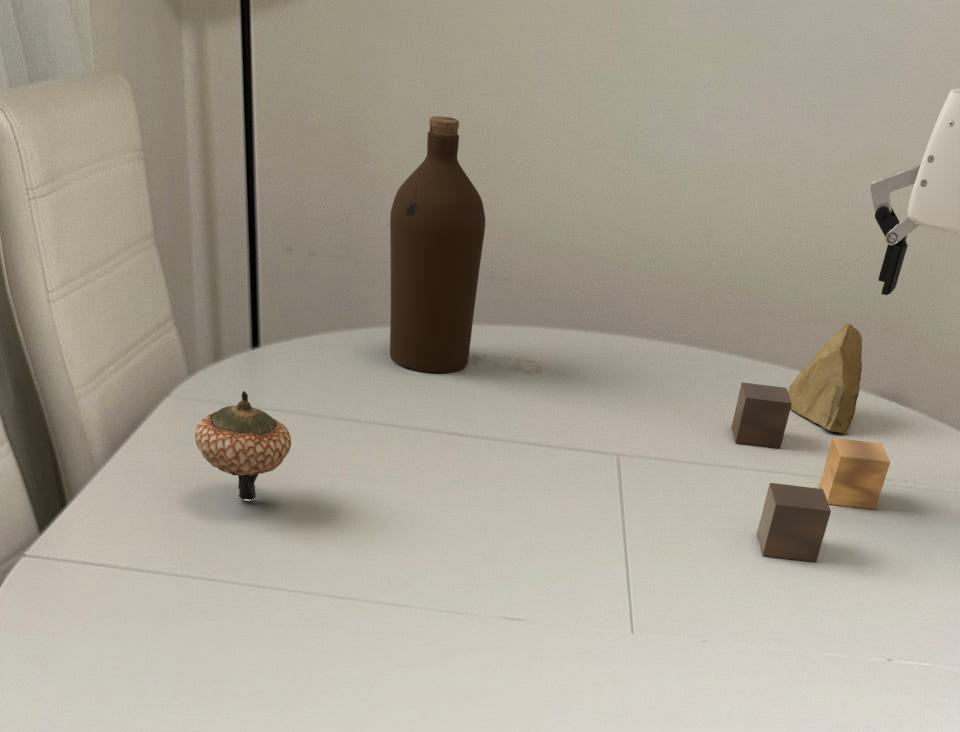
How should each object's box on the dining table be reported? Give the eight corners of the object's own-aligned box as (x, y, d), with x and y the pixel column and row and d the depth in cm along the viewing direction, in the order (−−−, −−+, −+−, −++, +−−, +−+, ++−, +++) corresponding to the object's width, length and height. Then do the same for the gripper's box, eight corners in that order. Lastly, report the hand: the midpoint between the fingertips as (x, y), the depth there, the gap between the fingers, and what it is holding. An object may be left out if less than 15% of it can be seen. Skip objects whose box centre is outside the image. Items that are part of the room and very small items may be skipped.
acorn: (182, 508, 107) (175, 395, 101) (225, 475, 113) (220, 367, 107) (268, 528, 106) (265, 414, 99) (306, 493, 112) (306, 384, 105)
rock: (877, 423, 135) (883, 383, 141) (848, 354, 130) (855, 317, 137) (786, 461, 141) (796, 422, 147) (755, 397, 137) (767, 360, 143)
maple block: (866, 490, 125) (881, 443, 122) (875, 510, 121) (890, 461, 118) (819, 484, 125) (832, 437, 122) (826, 504, 121) (840, 455, 118)
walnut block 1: (775, 432, 136) (786, 387, 133) (780, 448, 132) (792, 403, 129) (731, 426, 136) (741, 382, 133) (735, 443, 132) (745, 397, 129)
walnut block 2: (808, 539, 114) (823, 488, 111) (816, 562, 111) (831, 511, 107) (756, 532, 114) (769, 482, 111) (762, 556, 111) (775, 504, 107)
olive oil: (468, 379, 140) (489, 133, 124) (378, 368, 140) (387, 121, 124) (476, 351, 148) (497, 117, 132) (391, 341, 148) (401, 105, 132)
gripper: (1126, 91, 97) (1044, 314, 108) (912, 59, 102) (855, 275, 113) (1121, 100, 92) (1035, 334, 103) (895, 65, 97) (837, 292, 108)
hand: (941, 303), depth 108 cm, fingers open, 9 cm apart
